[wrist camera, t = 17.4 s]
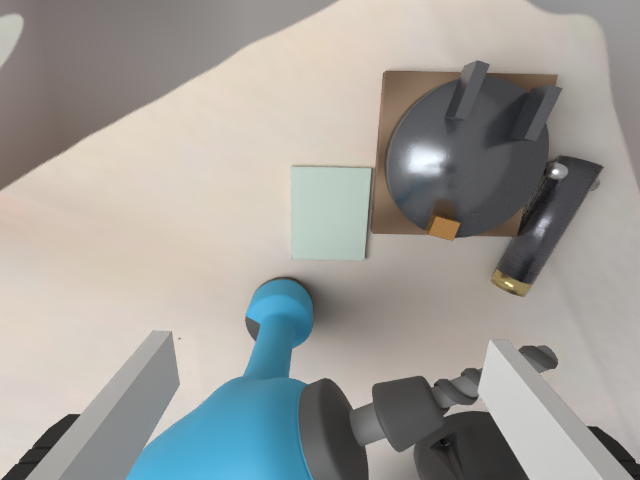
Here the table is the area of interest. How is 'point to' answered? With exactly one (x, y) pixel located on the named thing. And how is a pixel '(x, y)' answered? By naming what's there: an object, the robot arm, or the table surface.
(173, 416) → the table surface
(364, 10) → the table surface
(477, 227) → the chuck collar
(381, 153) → the plinth
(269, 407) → the power drill
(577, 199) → the black cylinder
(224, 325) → the table surface
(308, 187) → the mat
